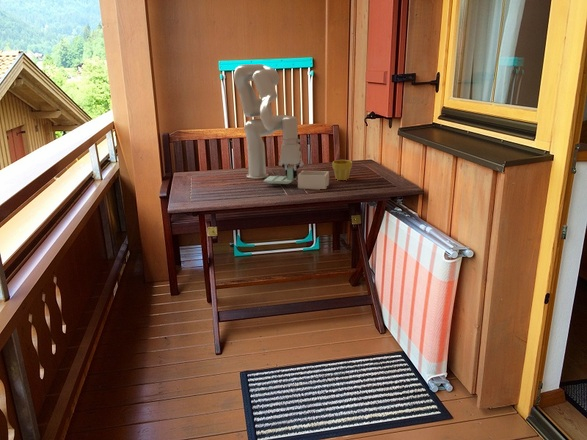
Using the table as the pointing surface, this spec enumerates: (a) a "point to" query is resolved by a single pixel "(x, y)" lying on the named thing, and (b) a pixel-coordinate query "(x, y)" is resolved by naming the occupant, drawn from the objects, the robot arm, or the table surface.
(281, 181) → the lid
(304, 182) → the tub
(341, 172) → the plant pot
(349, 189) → the table surface
